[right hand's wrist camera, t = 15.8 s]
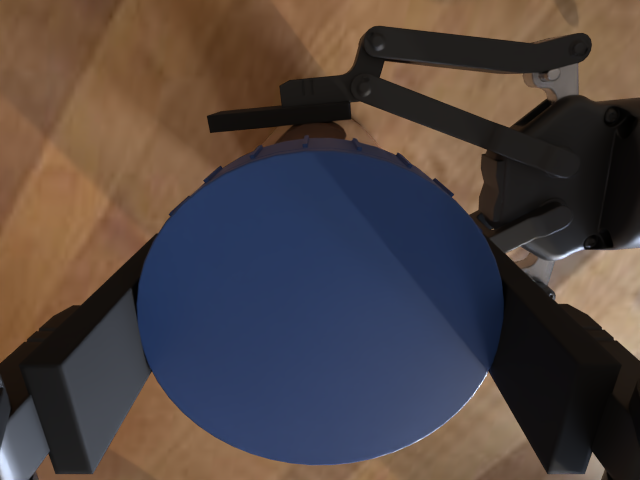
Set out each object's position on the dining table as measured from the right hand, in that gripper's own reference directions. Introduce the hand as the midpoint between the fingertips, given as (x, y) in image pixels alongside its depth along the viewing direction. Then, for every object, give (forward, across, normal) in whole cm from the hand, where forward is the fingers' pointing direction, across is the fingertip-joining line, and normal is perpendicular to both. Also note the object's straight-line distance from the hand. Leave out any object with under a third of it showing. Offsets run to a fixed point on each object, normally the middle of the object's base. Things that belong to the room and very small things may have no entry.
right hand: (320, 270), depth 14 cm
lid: (-3, 0, 0) cm, 3 cm away
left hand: (+8, -5, 0) cm, 9 cm away
